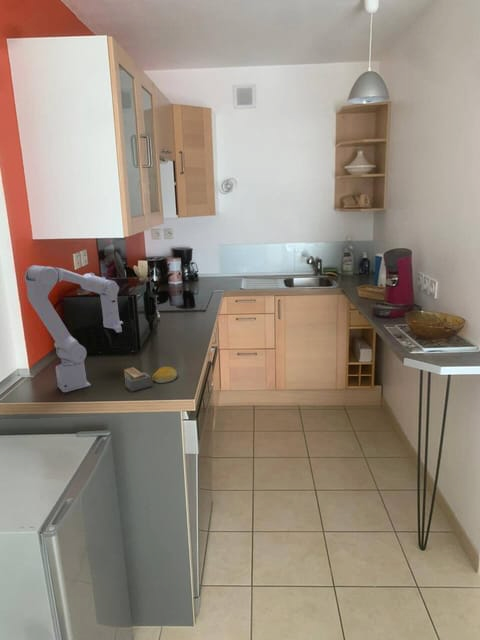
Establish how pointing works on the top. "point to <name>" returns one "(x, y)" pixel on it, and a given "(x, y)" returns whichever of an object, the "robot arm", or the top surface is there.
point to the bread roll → (164, 375)
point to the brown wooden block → (133, 373)
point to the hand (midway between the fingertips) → (114, 346)
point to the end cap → (138, 382)
